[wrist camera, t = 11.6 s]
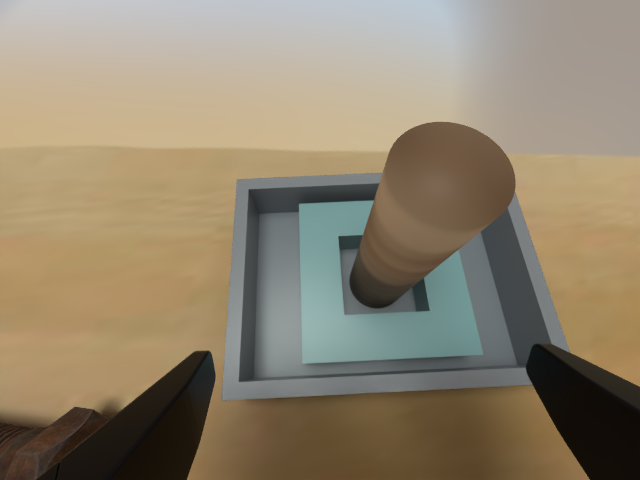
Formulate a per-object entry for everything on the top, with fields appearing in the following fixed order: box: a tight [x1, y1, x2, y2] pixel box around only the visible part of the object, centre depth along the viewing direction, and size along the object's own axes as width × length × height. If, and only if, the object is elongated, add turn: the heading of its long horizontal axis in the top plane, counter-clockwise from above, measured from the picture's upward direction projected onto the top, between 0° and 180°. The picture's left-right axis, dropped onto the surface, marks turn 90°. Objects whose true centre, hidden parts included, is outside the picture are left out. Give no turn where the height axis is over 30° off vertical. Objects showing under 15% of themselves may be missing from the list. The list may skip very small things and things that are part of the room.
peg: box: [349, 122, 515, 309], centre depth 14 cm, size 4×4×13 cm
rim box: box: [222, 173, 570, 401], centre depth 19 cm, size 13×18×4 cm
